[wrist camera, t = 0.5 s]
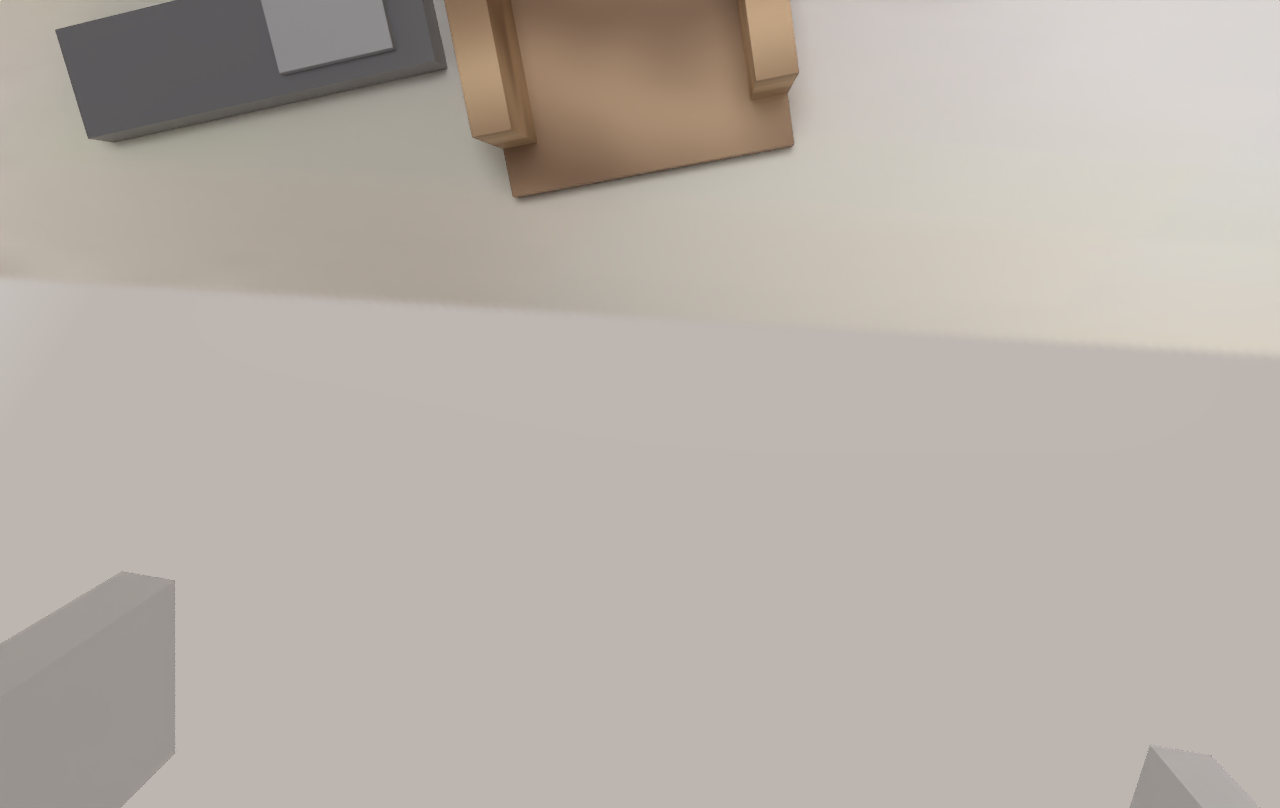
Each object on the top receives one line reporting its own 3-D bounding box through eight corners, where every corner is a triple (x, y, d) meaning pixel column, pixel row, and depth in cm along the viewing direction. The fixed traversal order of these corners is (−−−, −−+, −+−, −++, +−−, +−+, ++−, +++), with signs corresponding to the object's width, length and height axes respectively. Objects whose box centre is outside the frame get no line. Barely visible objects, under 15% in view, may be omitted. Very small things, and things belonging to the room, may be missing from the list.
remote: (120, 143, 37) (80, 137, 35) (90, 40, 36) (47, 27, 34) (450, 70, 35) (431, 58, 33) (426, -41, 34) (405, -61, 32)
